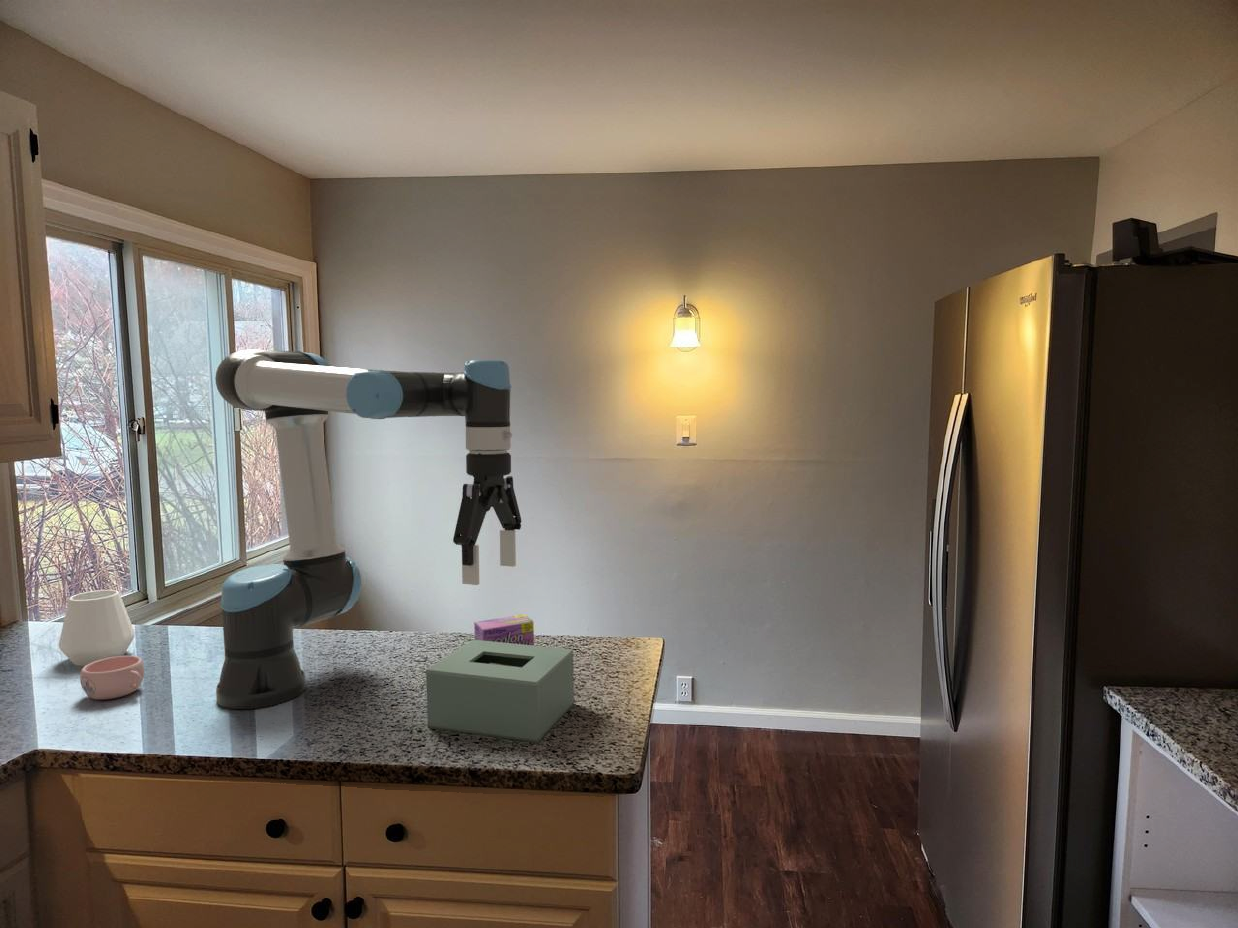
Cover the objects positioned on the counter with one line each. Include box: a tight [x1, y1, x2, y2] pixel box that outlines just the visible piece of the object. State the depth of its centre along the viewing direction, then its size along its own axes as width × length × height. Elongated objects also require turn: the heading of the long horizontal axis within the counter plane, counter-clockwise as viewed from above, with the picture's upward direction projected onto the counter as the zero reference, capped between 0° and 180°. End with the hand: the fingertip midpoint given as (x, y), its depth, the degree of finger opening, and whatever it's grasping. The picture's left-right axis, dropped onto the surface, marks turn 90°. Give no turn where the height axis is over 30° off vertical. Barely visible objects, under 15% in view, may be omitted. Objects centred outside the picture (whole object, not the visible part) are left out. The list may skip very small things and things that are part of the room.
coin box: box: [425, 639, 575, 744], centre depth 129 cm, size 20×16×10 cm
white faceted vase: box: [58, 589, 136, 667], centre depth 160 cm, size 13×13×14 cm
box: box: [473, 614, 535, 646], centre depth 146 cm, size 10×6×12 cm, turn 117°
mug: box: [79, 655, 145, 700], centre depth 140 cm, size 12×10×6 cm
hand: (490, 574), depth 129 cm, fingers open, 13 cm apart
